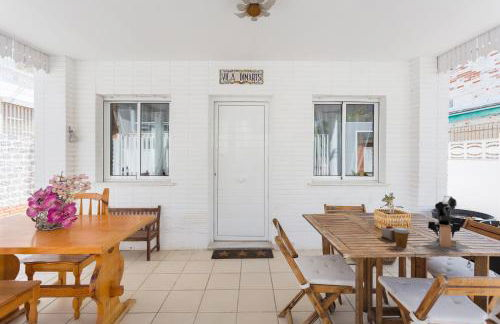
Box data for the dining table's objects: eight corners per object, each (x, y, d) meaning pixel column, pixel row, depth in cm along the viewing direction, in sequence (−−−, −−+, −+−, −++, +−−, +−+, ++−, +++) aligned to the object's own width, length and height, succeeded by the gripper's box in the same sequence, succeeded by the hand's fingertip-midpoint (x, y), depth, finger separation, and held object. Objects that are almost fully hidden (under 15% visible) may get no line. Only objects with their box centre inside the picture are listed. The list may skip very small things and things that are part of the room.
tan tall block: (439, 244, 203) (439, 224, 203) (448, 245, 201) (449, 225, 200) (440, 246, 198) (441, 226, 198) (450, 247, 196) (450, 226, 195)
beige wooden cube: (449, 245, 202) (449, 238, 202) (455, 245, 201) (455, 239, 201) (450, 246, 200) (450, 240, 200) (456, 247, 198) (456, 240, 198)
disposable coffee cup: (412, 247, 198) (412, 229, 198) (401, 248, 195) (401, 230, 195) (401, 243, 207) (401, 226, 207) (390, 244, 204) (390, 227, 204)
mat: (440, 249, 192) (440, 249, 192) (423, 242, 209) (423, 241, 209) (472, 249, 194) (472, 248, 194) (452, 242, 211) (452, 241, 211)
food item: (379, 236, 225) (379, 224, 225) (388, 236, 227) (388, 223, 227) (391, 241, 212) (391, 228, 212) (400, 241, 213) (401, 227, 213)
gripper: (428, 210, 207) (430, 228, 197) (460, 212, 199) (464, 231, 189) (426, 219, 214) (428, 237, 204) (457, 221, 206) (461, 240, 196)
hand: (445, 236), depth 198 cm, fingers open, 8 cm apart
